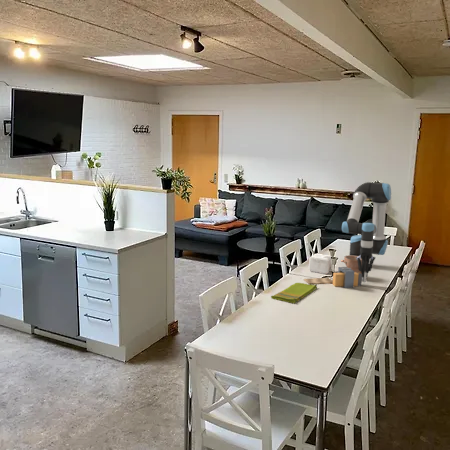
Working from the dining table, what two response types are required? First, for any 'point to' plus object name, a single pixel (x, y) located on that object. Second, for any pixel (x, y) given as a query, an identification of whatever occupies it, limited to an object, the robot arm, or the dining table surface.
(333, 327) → the dining table surface
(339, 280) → the plug
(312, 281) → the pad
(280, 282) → the dining table surface
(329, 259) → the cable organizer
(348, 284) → the block
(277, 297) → the dish towel
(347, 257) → the ceramic jug
